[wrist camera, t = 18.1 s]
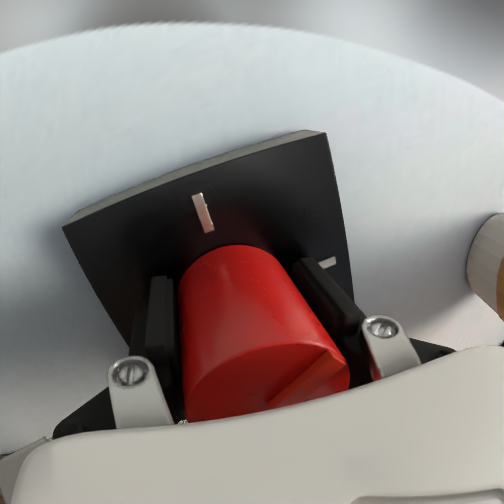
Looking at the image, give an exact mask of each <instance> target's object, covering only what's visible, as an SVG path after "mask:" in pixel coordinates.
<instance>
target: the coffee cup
mask: <svg viewBox="0 0 504 504" xmlns="http://www.w3.org/2000/svg"><path fill="white" fill-rule="evenodd" d="M466 274H467V279H468V281H469V283H470V286H471V288H472V290H473V292H474V293H475V294H477V295H478V296H479V297H480V298H481V299H482V300H483V301H484V302H485V303H487V304H488V305H489V306H490V307H491V308H492V309H493V310H494V311H495V312H496V313H497V314H498V315H499V317H500V318H501V319H502V320H503V321H504V214H497V215H494V216H492V217H491V218H489V219H488V220H487V221H486V222H485V223H484V224H483V226H482V227H481V229H480V230H479V232H478V233H477V235H476V237H475V239H474V241H473V243H472V246H471V249H470V252H469V255H468V260H467V268H466Z"/></svg>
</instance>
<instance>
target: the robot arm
mask: <svg viewBox="0 0 504 504" xmlns="http://www.w3.org/2000/svg"><path fill="white" fill-rule="evenodd" d="M292 281H293V283H294V284H295V286H296V287H297V289H298V290H299V291H300V293H301V294H302V296H303V297H304V299H305V300H306V302H307V303H308V305H309V306H310V308H311V309H312V311H313V312H314V314H315V315H316V317H317V318H318V319H319V321H320V322H321V324H322V325H323V327H324V328H325V330H326V331H327V333H328V334H329V336H330V337H331V339H332V340H333V342H334V343H335V345H336V346H337V348H338V349H339V351H340V352H341V354H342V355H343V357H344V358H345V360H346V362H347V364H348V367H349V371H350V382H349V387H348V390H346V391H343V392H339V393H336V394H333V395H329V396H325V397H322V398H318V399H314V400H310V401H306V402H302V403H298V404H294V405H290V406H285V407H281V408H276V409H272V410H267V411H262V412H257V413H251V414H246V415H241V416H235V417H229V418H223V419H216V420H209V421H202V422H194V423H185V424H178V423H179V422H180V421H181V420H186V417H185V411H184V400H183V389H182V377H181V363H180V348H179V330H178V307H177V302H176V296H175V290H174V284H173V279H167V276H157V277H152V279H151V287H150V296H149V305H148V312H142V313H135V315H134V320H133V327H132V334H131V341H130V348H129V356H128V357H124V358H121V359H119V360H118V361H116V362H115V363H114V364H113V365H112V366H111V367H110V368H109V370H108V373H107V379H108V387H107V388H106V389H104V390H103V391H102V392H100V393H99V394H98V395H96V396H95V397H94V398H92V399H91V400H90V401H88V402H87V403H85V404H84V405H83V406H81V407H80V408H79V409H77V410H76V411H75V412H73V413H72V414H70V415H69V416H68V417H66V418H65V419H64V420H62V421H61V422H60V423H59V424H58V425H57V426H56V428H55V430H54V432H53V436H52V438H50V439H48V440H47V438H46V437H43V438H41V439H39V440H38V441H36V442H34V443H32V444H30V445H28V446H26V447H24V448H22V449H20V450H18V451H16V452H14V453H12V454H10V455H8V456H6V457H4V458H3V459H1V460H0V494H1V497H2V499H3V501H4V504H504V347H501V346H494V345H487V346H476V347H471V348H466V349H463V350H460V351H455V350H454V349H451V348H448V347H444V346H440V345H436V344H432V343H428V342H424V341H420V340H416V339H412V338H408V337H407V335H406V333H405V331H404V329H403V328H402V326H401V325H400V324H399V322H397V321H396V320H395V319H393V318H390V317H387V316H382V315H375V316H370V317H368V318H367V317H366V316H365V314H364V313H363V312H362V311H361V310H360V309H359V308H358V306H357V305H356V304H355V303H354V302H353V301H352V300H351V299H350V297H349V296H348V295H347V294H346V293H345V292H344V291H343V290H342V288H341V287H340V286H338V285H337V283H336V282H335V281H334V280H333V279H332V278H331V277H330V276H329V275H328V273H327V272H326V271H325V270H324V269H323V268H322V267H321V266H320V265H319V263H318V262H317V261H316V260H315V259H314V258H313V257H307V258H300V259H298V260H297V263H293V270H292Z"/></svg>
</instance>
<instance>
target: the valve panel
mask: <svg viewBox="0 0 504 504" xmlns="http://www.w3.org/2000/svg"><path fill="white" fill-rule="evenodd" d="M62 230H63V232H64V234H65V236H66V238H67V240H68V242H69V244H70V246H71V248H72V250H73V252H74V254H75V256H76V258H77V260H78V262H79V264H80V266H81V268H82V270H83V271H84V273H85V275H86V277H87V279H88V281H89V282H90V284H91V286H92V288H93V290H94V291H95V293H96V295H97V297H98V298H99V300H100V302H101V303H102V305H103V307H104V308H105V310H106V312H107V313H108V315H109V317H110V318H111V320H112V322H113V323H114V325H115V326H116V328H117V330H118V331H119V333H120V334H121V336H122V337H123V339H124V340H125V342H126V343H127V345H128V346H129V348H130V341H131V334H132V327H133V320H134V315H135V313H142V312H148V305H149V296H150V287H151V279H152V277H157V276H167V279H173V284H174V290H175V296H176V302H177V294H178V288H179V284H180V282H181V279H182V277H183V276H184V274H185V272H186V271H187V269H188V268H189V267H190V266H191V265H192V264H193V263H194V262H195V261H196V260H197V259H199V258H200V257H201V256H203V255H204V254H206V253H208V252H210V251H212V250H214V249H217V248H221V247H224V246H230V245H247V246H252V247H256V248H259V249H262V250H264V251H266V252H268V253H269V254H271V255H272V256H273V257H274V258H276V259H277V260H278V261H279V263H280V264H281V265H282V267H283V268H284V270H285V271H286V272H287V274H288V275H289V277H290V278H291V280H292V270H293V263H297V260H298V259H300V258H307V257H313V258H314V259H315V260H316V261H317V262H318V263H319V265H320V266H321V267H322V268H323V269H324V270H325V271H326V272H327V273H328V275H329V276H330V277H331V278H332V279H333V280H334V281H335V282H336V283H337V285H338V286H340V287H341V288H342V290H343V291H344V292H345V293H346V294H347V295H348V296H349V297H350V299H351V300H352V301H353V302H354V293H353V284H352V276H351V268H350V261H349V253H348V246H347V240H346V233H345V227H344V221H343V215H342V209H341V203H340V198H339V192H338V187H337V182H336V176H335V171H334V166H333V162H332V157H331V152H330V148H329V143H328V139H327V134H326V133H325V132H318V131H310V130H302V131H299V132H295V133H291V134H287V135H284V136H280V137H277V138H273V139H270V140H266V141H263V142H259V143H256V144H253V145H249V146H246V147H243V148H240V149H237V150H233V151H230V152H227V153H224V154H221V155H218V156H215V157H212V158H209V159H206V160H203V161H200V162H198V163H195V164H192V165H189V166H186V167H183V168H181V169H178V170H175V171H173V172H170V173H167V174H165V175H162V176H159V177H157V178H154V179H152V180H149V181H147V182H144V183H142V184H139V185H137V186H134V187H132V188H129V189H127V190H124V191H122V192H120V193H117V194H115V195H113V196H110V197H108V198H106V199H103V200H101V201H99V202H97V203H94V204H92V205H90V206H88V207H86V208H83V209H81V210H79V211H77V212H76V213H75V214H74V215H73V216H72V217H71V218H70V219H69V220H68V221H67V222H66V223H65V224H64V226H63V227H62ZM354 303H355V302H354ZM177 307H178V306H177Z"/></svg>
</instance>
